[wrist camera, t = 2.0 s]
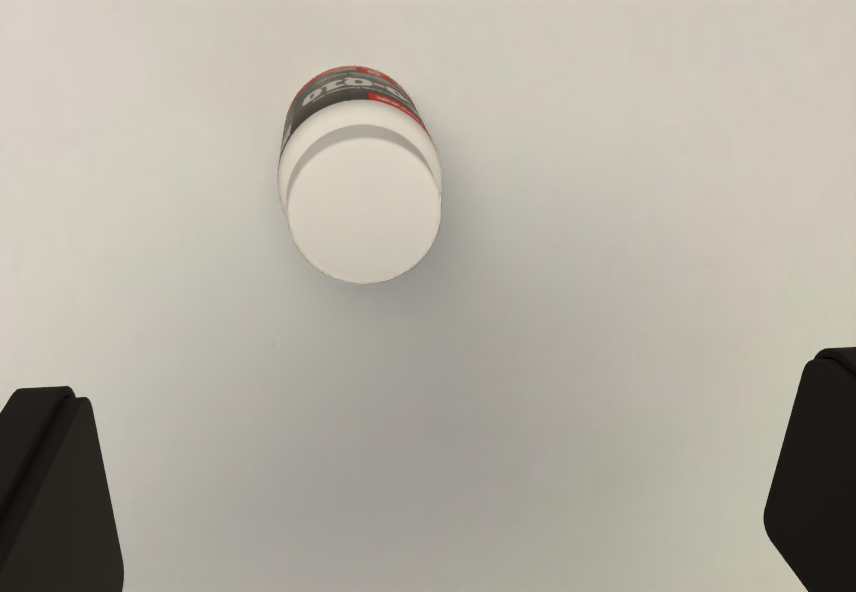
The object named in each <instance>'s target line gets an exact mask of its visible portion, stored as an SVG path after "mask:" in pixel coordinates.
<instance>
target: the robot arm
mask: <svg viewBox="0 0 856 592" xmlns="http://www.w3.org/2000/svg"><path fill="white" fill-rule="evenodd" d="M764 525H765V530H766V532H767V535H768V537H769V538H770V540H771V542H772V543H773V544H774V546H775V547H776V548H777V550H778V551H779V553H780V554H781V555H782V557H783V558H784V559H785V561H786V562H787V563H788V565H789V566H790V567H791V569H792V570H793V571H794V573H795V574H796V576H797V577H798V578H799V580H800V581H801V582H802V584H803V585H804V586H805V588H806V589H807V590H808V592H856V347H846V348H826V349H823V350H821V351H819V353H818V354H817V355H816V356H815V358H814V360H811V361H809V362H808V363H807V364H806V365H805V367H804V370H803V373H802V376H801V380H800V384H799V387H798V391H797V394H796V398H795V402H794V405H793V409H792V412H791V416H790V420H789V423H788V427H787V430H786V434H785V438H784V441H783V445H782V448H781V452H780V456H779V459H778V463H777V466H776V470H775V474H774V477H773V481H772V484H771V488H770V492H769V495H768V499H767V502H766V506H765V510H764ZM123 581H124V566H123V559H122V554H121V549H120V544H119V539H118V534H117V529H116V524H115V519H114V514H113V509H112V504H111V499H110V494H109V489H108V484H107V479H106V474H105V469H104V464H103V459H102V454H101V449H100V444H99V439H98V434H97V429H96V424H95V419H94V414H93V409H92V405H91V402H90V400H89V399H88V398H87V397H78V398H76V397H75V394H74V392H73V390H72V388H70V387H69V386H60V387H40V388H21V389H17V390H16V391H15V392H14V393H13V394H12V396H11V397H10V399H9V400H8V402H7V404H6V405H5V407H4V408H3V410H2V412H1V413H0V592H122V589H123Z"/></svg>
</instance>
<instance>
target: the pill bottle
mask: <svg viewBox="0 0 856 592" xmlns="http://www.w3.org/2000/svg"><path fill="white" fill-rule="evenodd" d="M442 184H443V180H442V168H441V163H440V159H439V156H438V153H437V150H436V147H435V145H434V143H433V141H432V139H431V137H430V135H429V134H428V132H427V130H426V128H425V126H424V124H423V122H422V120H421V118H420V116H419V114H418V112H417V110H416V108H415V106H414V104H413V102H412V101H411V99H410V97H409V96H408V95H407V93H406V92H405V91H404V90H403V88H402V87H401V86H400V85H399V84H398V83H396V82H395V81H394V80H393V79H391V78H390V77H388V76H387V75H385V74H383V73H381V72H379V71H376V70H374V69H370V68H367V67H361V66H342V67H337V68H333V69H330V70H327V71H325V72H322V73H321V74H319V75H317V76H315V77H314V78H312V79H311V80H310V81H309V82H307V83H306V84H305V85H304V86H303V87H302V88H301V90H300V91H299V92H298V93H297V95H296V96H295V98H294V100H293V102H292V104H291V106H290V108H289V111H288V114H287V118H286V122H285V127H284V133H283V139H282V146H281V153H280V160H279V167H278V192H279V197H280V202H281V206H282V208H283V211H284V213H285V216H286V218H287V219H288V225H289V229H290V233H291V235H292V238H293V240H294V242H295V244H296V246H297V248H298V249H299V251H300V252H301V254H302V255H303V256H304V257H305V259H306V260H307V261H308V262H309V263H310V264H311V265H313V266H314V267H315V268H317V269H318V270H319V271H321V272H322V273H324V274H326V275H328V276H330V277H332V278H335V279H338V280H341V281H344V282H349V283H357V284H371V283H378V282H383V281H386V280H389V279H392V278H395V277H397V276H399V275H401V274H403V273H405V272H406V271H408V270H409V269H411V268H412V267H413V266H414V265H416V264H417V263H418V262H419V261H420V260H421V259H422V258H423V257H424V255H425V254H426V253H427V252H428V250H429V249H430V247H431V245H432V244H433V242H434V240H435V237H436V235H437V232H438V229H439V225H440V219H441V194H442Z"/></svg>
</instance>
